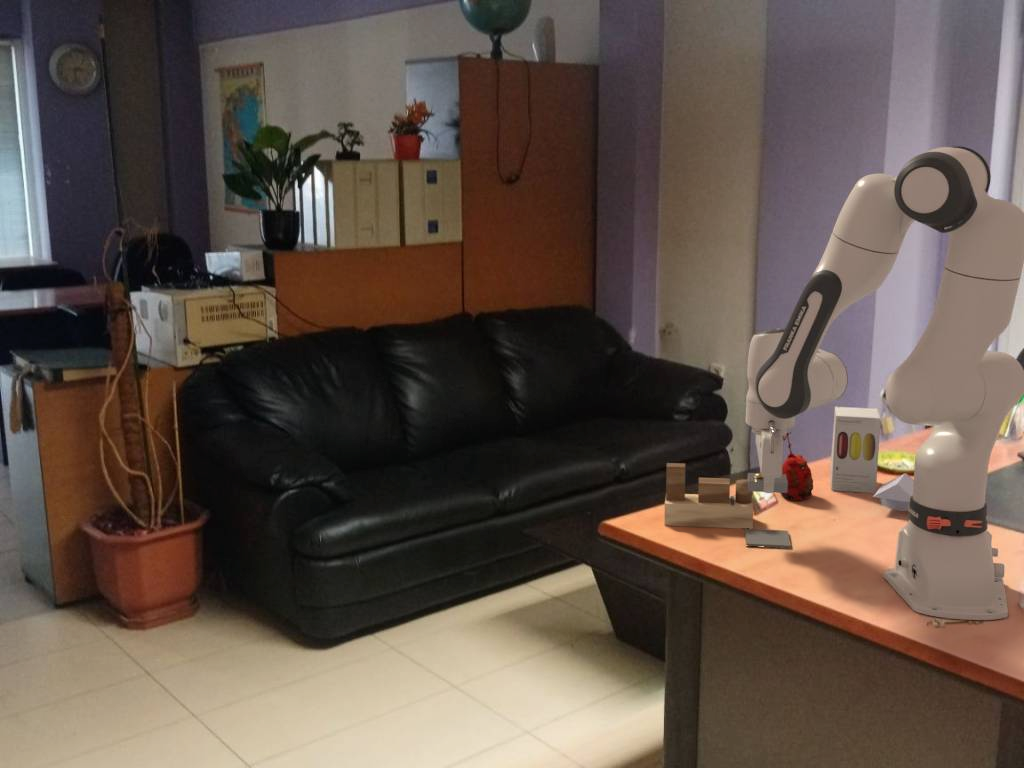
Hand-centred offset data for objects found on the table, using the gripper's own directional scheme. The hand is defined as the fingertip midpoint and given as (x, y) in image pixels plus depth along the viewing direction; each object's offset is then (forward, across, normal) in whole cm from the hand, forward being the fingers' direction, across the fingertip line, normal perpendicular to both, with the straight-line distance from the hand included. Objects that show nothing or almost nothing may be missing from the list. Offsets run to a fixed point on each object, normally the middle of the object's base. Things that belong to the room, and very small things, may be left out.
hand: (767, 486), depth 191 cm
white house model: (+11, +23, -28) cm, 38 cm away
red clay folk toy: (+11, +27, -7) cm, 30 cm away
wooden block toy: (+11, +9, +11) cm, 17 cm away
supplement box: (+11, +36, -20) cm, 43 cm away
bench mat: (+10, 0, 0) cm, 11 cm away
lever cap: (0, 0, 0) cm, 0 cm away
